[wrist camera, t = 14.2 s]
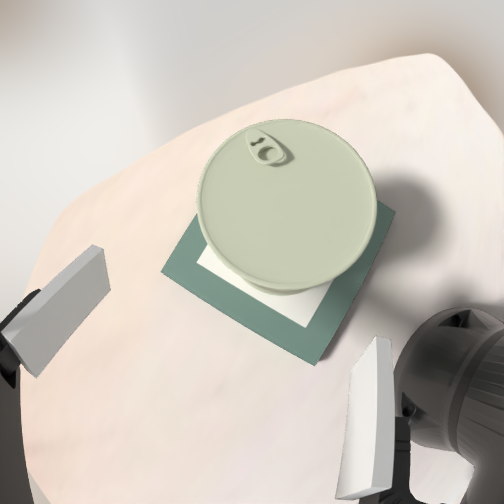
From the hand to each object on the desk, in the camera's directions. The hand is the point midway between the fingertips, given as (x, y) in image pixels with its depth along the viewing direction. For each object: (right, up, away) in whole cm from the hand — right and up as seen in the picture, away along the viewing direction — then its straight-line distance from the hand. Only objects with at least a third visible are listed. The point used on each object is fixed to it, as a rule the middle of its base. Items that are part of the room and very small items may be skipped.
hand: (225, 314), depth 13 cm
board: (+4, +3, +14) cm, 15 cm away
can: (+4, +4, +13) cm, 14 cm away
